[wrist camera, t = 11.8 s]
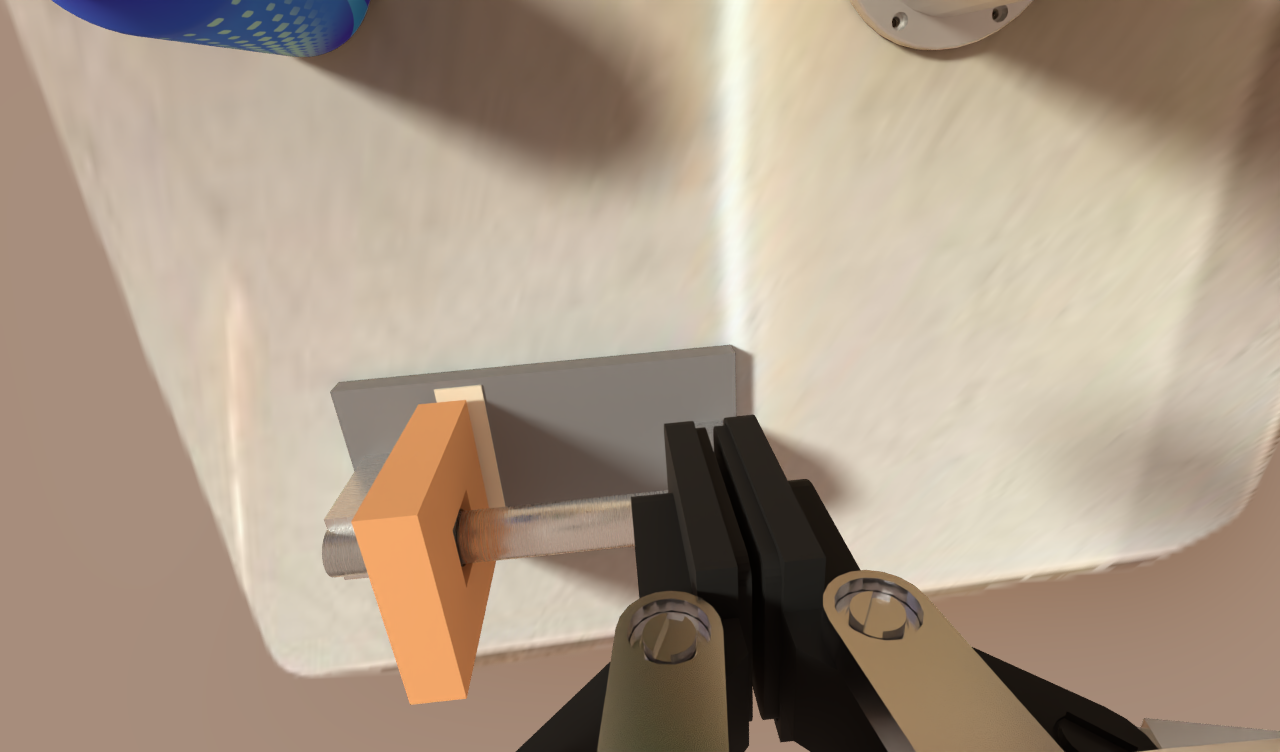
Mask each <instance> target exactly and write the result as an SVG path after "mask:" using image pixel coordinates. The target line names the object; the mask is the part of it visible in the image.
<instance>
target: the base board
mask: <svg viewBox="0 0 1280 752" xmlns="http://www.w3.org/2000/svg"><path fill="white" fill-rule="evenodd" d="M330 393H331V396H332V400H333V403H334V406H335V409H336V413H337V416H338V419H339V422H340V426H341V429H342V432H343V435H344V439H345V442H346V445H347V448H348V452H349V455H350V458H351V461H352V465H353V468H354V471H355V470H356V469H357V467H358V466H359V464H360V463H361V461H362V459H363V458H364V456H365V455H372V454H383V453H391V451H392V450H393V448H394V446H395V444H396V443H397V441H398V439H399V437H400V436H401V434H402V432H403V430H404V429H405V427H406V425H407V423H408V422H409V420H410V418H411V417H412V415H413V413H414V411H415V410H416V408H417V406H418V404H428V403H439V402H449V401H459V400H466V402H467V406H468V411H469V416H470V420H471V425H472V430H473V435H474V439H475V444H476V449H477V454H478V458H479V463H480V468H481V472H482V477H483V482H484V487H485V491H486V496H487V501H488V506H489V508H497V507H507V506H517V505H527V504H537V503H547V502H556V501H566V500H576V499H586V498H596V497H606V496H615V495H625V494H635V493H645V492H655V491H665V490H668V483H667V468H666V454H665V440H664V424H665V423H675V422H685V421H693V422H694V423H697V422H707V421H717V420H722V422H723V420H724V418H726V417H736V368H735V352H734V350H733V348H732V346H731V345H724V346H714V347H703V348H693V349H682V350H672V351H661V352H651V353H640V354H630V355H619V356H609V357H598V358H588V359H577V360H567V361H556V362H546V363H535V364H525V365H515V366H504V367H494V368H483V369H473V370H462V371H452V372H441V373H431V374H420V375H410V376H399V377H389V378H378V379H368V380H357V381H347V382H339V383H338V384H337V385H336V386H335V387H334V388H333V389H332V390H331V392H330Z"/></svg>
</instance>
